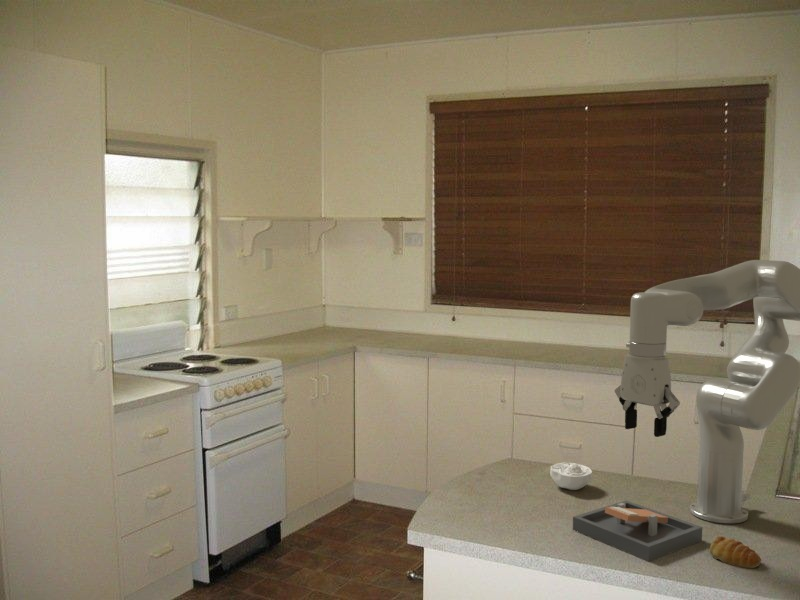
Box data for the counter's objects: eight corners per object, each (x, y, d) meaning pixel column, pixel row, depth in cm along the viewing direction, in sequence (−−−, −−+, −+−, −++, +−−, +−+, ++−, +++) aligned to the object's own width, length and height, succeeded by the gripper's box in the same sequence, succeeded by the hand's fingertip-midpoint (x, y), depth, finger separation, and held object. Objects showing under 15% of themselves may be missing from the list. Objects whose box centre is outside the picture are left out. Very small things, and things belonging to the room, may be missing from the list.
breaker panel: (625, 512, 183) (626, 489, 182) (701, 540, 167) (702, 514, 166) (572, 529, 173) (573, 504, 172) (648, 561, 156) (649, 533, 156)
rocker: (643, 514, 176) (644, 507, 176) (668, 523, 171) (669, 516, 171) (603, 512, 168) (604, 505, 168) (628, 521, 162) (629, 514, 163)
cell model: (580, 479, 208) (581, 454, 207) (598, 494, 196) (598, 468, 195) (543, 480, 206) (544, 455, 206) (559, 496, 194) (559, 469, 194)
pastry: (767, 564, 156) (768, 545, 155) (750, 574, 151) (750, 555, 151) (722, 549, 163) (723, 531, 163) (705, 557, 159) (705, 539, 158)
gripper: (603, 346, 172) (601, 426, 174) (671, 357, 158) (668, 443, 160) (626, 343, 176) (623, 421, 178) (693, 354, 162) (690, 438, 164)
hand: (645, 431), depth 169 cm, fingers open, 6 cm apart
